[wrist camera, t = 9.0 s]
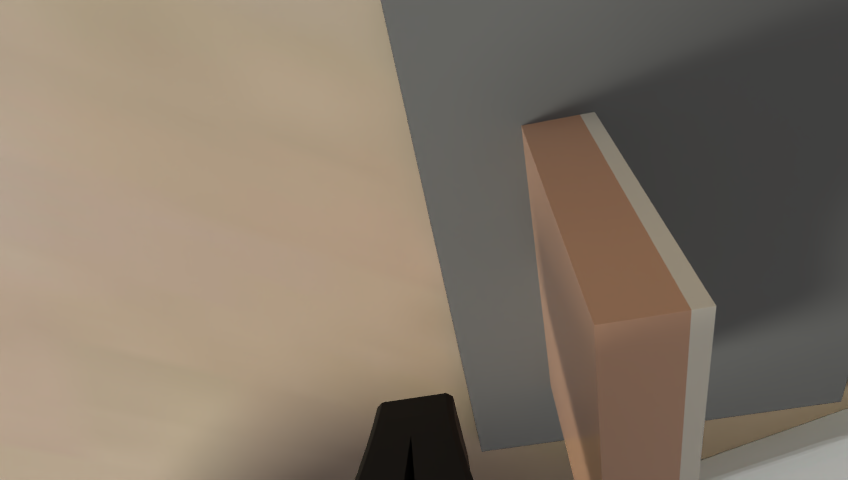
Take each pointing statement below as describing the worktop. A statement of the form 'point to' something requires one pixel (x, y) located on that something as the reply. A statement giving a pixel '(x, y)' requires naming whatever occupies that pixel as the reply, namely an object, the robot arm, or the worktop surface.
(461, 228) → the mat
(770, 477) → the external hard drive
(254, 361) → the worktop surface
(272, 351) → the worktop surface
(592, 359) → the tile
